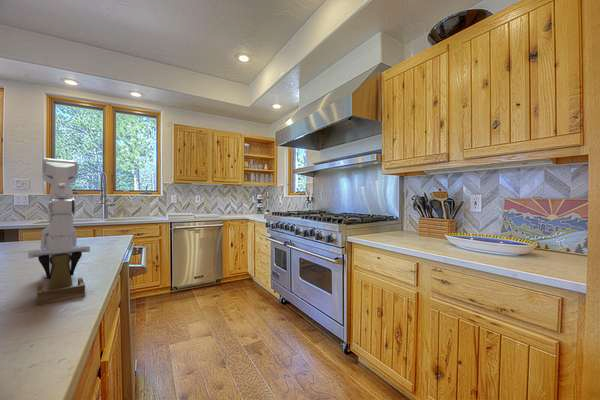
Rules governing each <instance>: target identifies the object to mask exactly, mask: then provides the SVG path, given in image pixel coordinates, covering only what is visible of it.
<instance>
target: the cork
mask: <svg viewBox="0 0 600 400" xmlns="http://www.w3.org/2000/svg"><path fill="white" fill-rule="evenodd" d="M70 261H71V255H70V254H66V253H64V254H56V255H52V256H51V257H50V263H51V264H52V267H51V272H50V279H48V282H47V283H48V284H47V288H46V289H47V291H49V290H55V289H60V288H66V287H72V286H74V285H73V277H72V276H71V272H70V265H69V262H70Z"/></svg>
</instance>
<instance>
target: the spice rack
mask: <svg viewBox="0 0 600 400" xmlns="http://www.w3.org/2000/svg"><path fill="white" fill-rule="evenodd" d="M36 290H37V291H36V306H42V305H46V304H51V303H55V302H56V303H57V302H62V301H66V300H72V299H77V298H82V297H85V296H86V284H85V281H84V278H83V277H78V278H77V285H72V286H71V287H66V288H60V289H55V290H44V283H38V284H37V289H36ZM43 290H44V291H43Z"/></svg>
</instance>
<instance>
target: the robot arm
mask: <svg viewBox="0 0 600 400" xmlns="http://www.w3.org/2000/svg"><path fill="white" fill-rule="evenodd" d="M41 165H42V168H41V170H42V171H41V172H42V179H43V181H44V182H47V183H49V184H50V187H49V200H48V201H47V216H48V223H49V224H48V226H47V227H45V228H44V229H42V231H41V236H40V249H36V250H29V251H28V253H27V255H28V256H27V258H28V259H34V258H37V259H38V262H39V263H40V264H41V267H42V268H43V270H44V271H43V276H42V277H43V278H44V279H45V278H46V280H49V279H50V272H51V267H52V264H51V263H50V257H51V256H52V255H56V254H64V253H66V254H70V255H71V261H70V262H69V265H70V272H71V277H72V276H74V274H75V270H76V268H77V265H78V263H79V262H80V260H81V257H82V255H83V253H90V251H91V246H90V245H81V246H79V245H78V246H77V242H78V241H77V240H78V239H77V235H78V234H77V230H76V228H75V227H74V217H75V215H76V200H75V197H74V195H73V188H72V186H70V184H74V183H76V180H77V176H78V170H79V163H78V161H77V160H69V159H58V158H47V157H44V158H42V163H41Z"/></svg>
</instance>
